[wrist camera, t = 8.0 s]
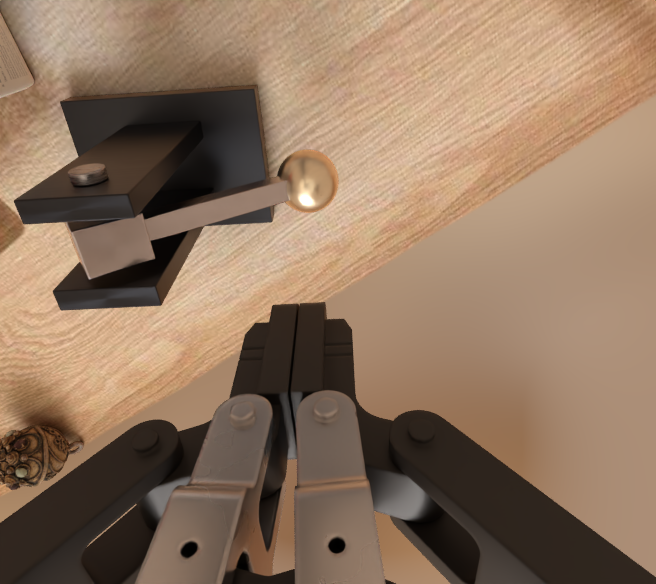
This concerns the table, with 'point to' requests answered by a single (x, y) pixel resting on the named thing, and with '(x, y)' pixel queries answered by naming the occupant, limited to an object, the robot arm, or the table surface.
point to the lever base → (149, 177)
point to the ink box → (11, 64)
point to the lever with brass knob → (202, 213)
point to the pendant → (33, 455)
